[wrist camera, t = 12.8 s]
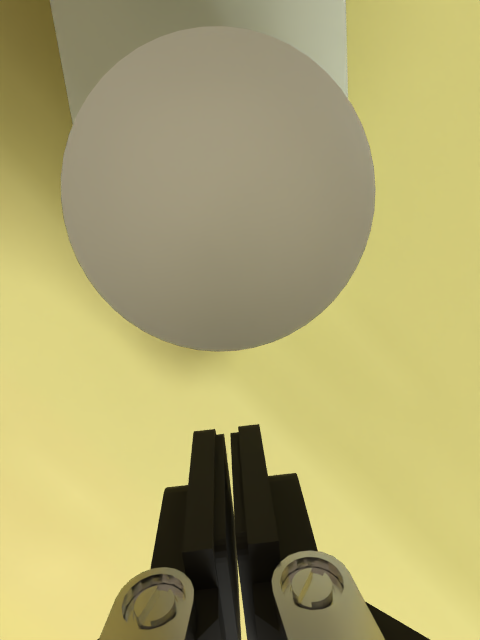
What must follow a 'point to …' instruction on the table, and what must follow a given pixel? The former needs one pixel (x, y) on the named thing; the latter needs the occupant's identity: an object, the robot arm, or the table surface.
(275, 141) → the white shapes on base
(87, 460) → the table surface
